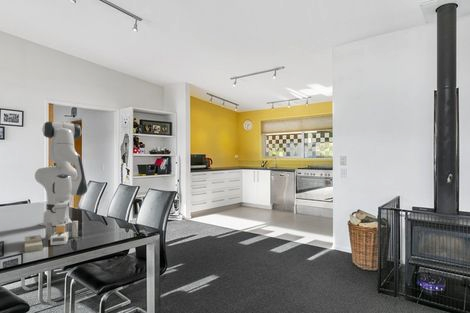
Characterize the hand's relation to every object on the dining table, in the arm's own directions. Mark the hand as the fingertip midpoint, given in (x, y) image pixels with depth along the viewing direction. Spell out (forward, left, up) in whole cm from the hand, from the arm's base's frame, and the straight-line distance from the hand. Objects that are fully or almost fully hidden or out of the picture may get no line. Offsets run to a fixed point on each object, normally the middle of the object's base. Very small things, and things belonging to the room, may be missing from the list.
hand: (62, 226), depth 174 cm
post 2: (+3, +6, -6) cm, 9 cm away
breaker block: (+11, 0, -6) cm, 12 cm away
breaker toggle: (+8, 0, -1) cm, 8 cm away
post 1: (+3, -7, -6) cm, 9 cm away
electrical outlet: (+16, -11, -6) cm, 21 cm away
